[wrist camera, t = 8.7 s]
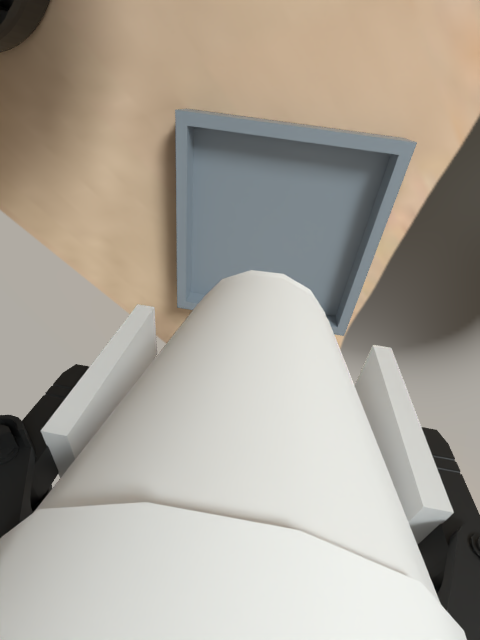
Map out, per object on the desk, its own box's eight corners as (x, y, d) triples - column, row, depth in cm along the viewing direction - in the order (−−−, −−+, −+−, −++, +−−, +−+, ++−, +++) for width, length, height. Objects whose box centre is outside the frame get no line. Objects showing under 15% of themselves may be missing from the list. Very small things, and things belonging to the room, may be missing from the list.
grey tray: (185, 293, 32) (177, 307, 30) (186, 108, 23) (175, 109, 21) (340, 319, 31) (343, 335, 29) (405, 138, 22) (417, 142, 20)
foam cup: (142, 246, 14) (-321, 694, 4) (364, 221, 12) (830, 1054, 2) (194, 396, 19) (70, 761, 9) (356, 395, 17) (452, 864, 7)
